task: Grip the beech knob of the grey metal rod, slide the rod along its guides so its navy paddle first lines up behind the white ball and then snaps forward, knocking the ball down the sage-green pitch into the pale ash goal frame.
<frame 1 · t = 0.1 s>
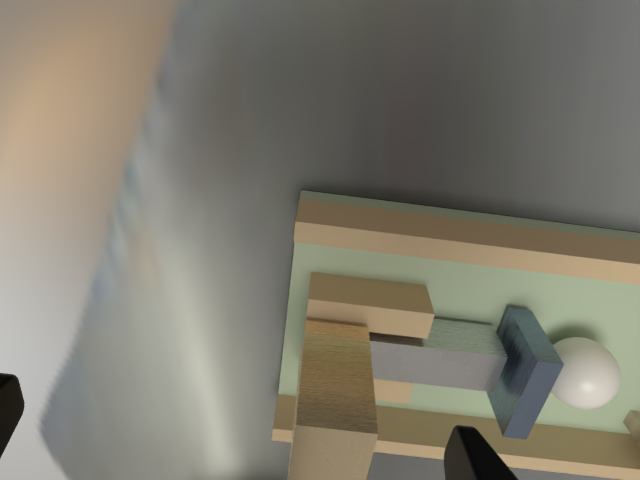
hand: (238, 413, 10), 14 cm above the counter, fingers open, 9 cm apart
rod: (423, 393, 21), point 5 cm above the counter, slide at 0.0 cm
ball: (580, 372, 24), point 3 cm above the counter, touching pitch
pitch: (523, 332, 26), on the counter
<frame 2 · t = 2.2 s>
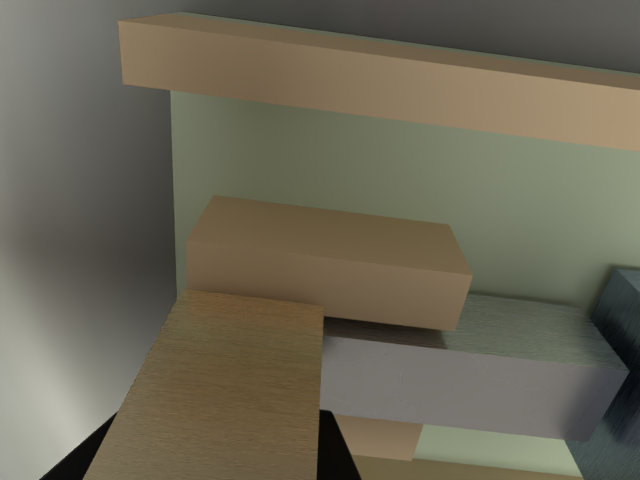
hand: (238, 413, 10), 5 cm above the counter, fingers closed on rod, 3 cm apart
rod: (448, 457, 9), point 5 cm above the counter, slide at 0.0 cm, touching gripper
pitch: (625, 322, 14), on the counter
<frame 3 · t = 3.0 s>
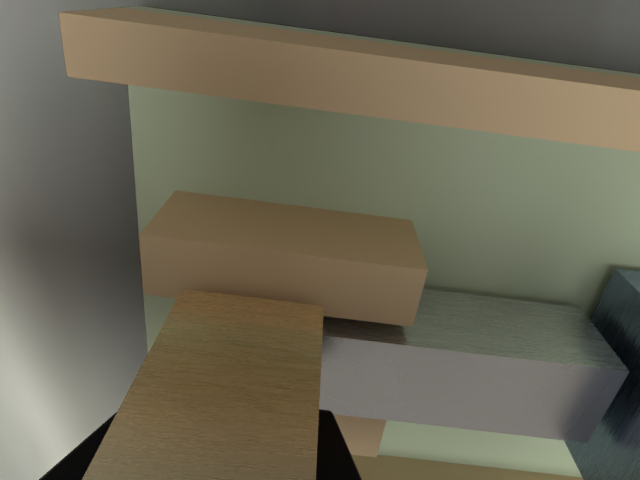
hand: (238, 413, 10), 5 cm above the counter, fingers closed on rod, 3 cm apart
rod: (448, 457, 9), point 6 cm above the counter, slide at 0.9 cm, touching gripper
pitch: (595, 319, 14), on the counter
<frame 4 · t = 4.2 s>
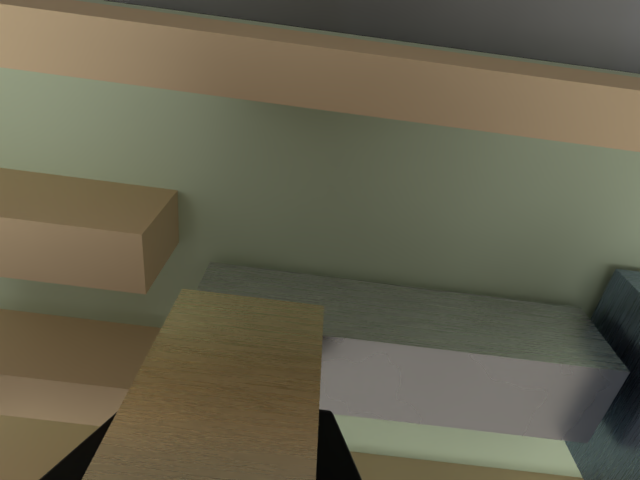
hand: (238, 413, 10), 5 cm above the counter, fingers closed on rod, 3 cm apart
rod: (448, 457, 9), point 6 cm above the counter, slide at 6.9 cm, touching gripper
pitch: (404, 296, 14), on the counter
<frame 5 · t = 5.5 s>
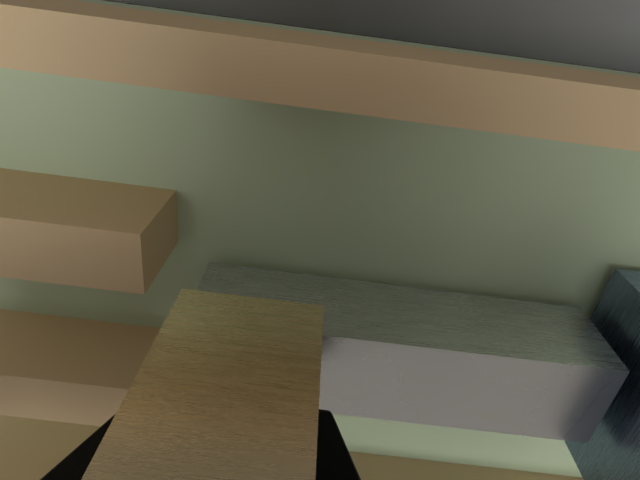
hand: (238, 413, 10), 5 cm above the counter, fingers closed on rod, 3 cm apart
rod: (448, 457, 9), point 5 cm above the counter, slide at 6.9 cm, touching gripper
pitch: (403, 295, 14), on the counter
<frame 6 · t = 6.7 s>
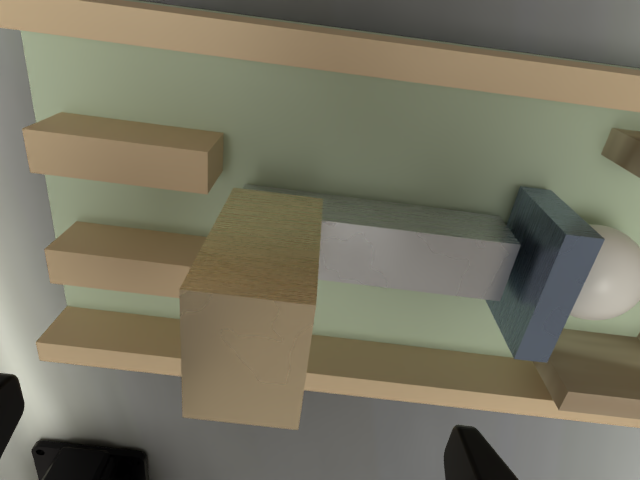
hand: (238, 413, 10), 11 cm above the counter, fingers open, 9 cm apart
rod: (400, 288, 15), point 5 cm above the counter, slide at 6.9 cm
ball: (590, 272, 17), point 3 cm above the counter, tilted 175°, touching pitch
pitch: (379, 215, 20), on the counter
goal: (608, 243, 20), resting on pitch
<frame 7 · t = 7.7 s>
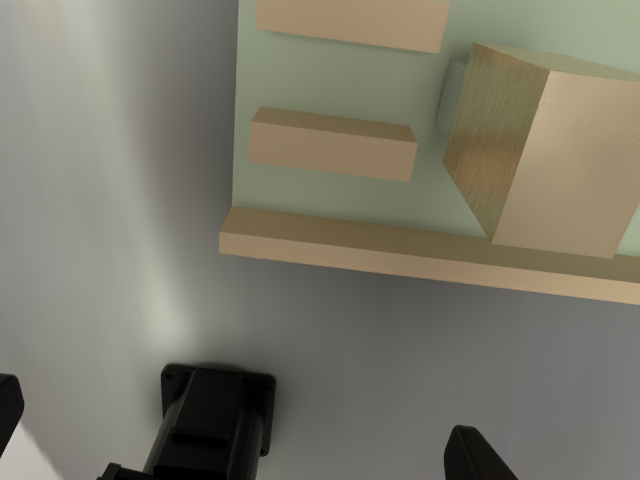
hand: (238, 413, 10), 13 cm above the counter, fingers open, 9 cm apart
pitch: (570, 104, 19), on the counter
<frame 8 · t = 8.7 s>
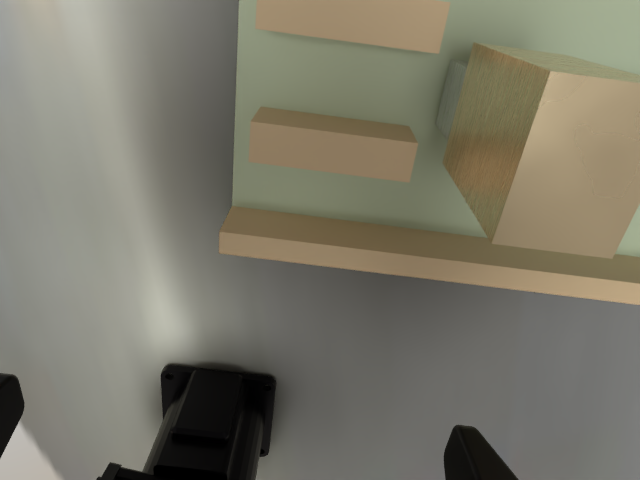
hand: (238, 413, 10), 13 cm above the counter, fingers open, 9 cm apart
pitch: (570, 104, 19), on the counter
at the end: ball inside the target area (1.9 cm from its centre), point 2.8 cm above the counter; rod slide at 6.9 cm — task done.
